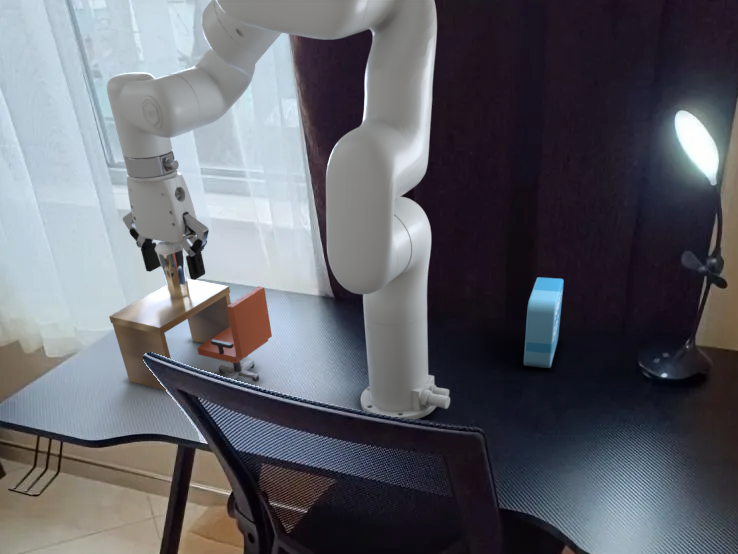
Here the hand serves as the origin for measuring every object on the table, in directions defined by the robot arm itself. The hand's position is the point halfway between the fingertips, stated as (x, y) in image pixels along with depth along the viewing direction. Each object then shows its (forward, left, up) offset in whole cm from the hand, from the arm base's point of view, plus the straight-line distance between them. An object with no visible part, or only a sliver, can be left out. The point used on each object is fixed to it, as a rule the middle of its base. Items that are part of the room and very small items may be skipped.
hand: (175, 272), depth 133 cm
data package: (-57, -26, -16) cm, 65 cm away
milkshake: (0, 0, -4) cm, 4 cm away
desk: (0, +3, -16) cm, 16 cm away
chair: (-12, +3, -16) cm, 20 cm away
